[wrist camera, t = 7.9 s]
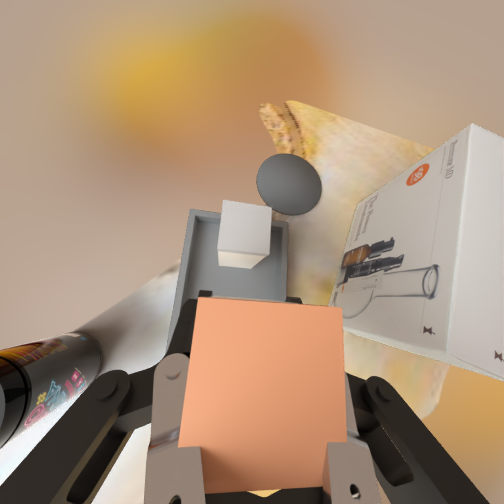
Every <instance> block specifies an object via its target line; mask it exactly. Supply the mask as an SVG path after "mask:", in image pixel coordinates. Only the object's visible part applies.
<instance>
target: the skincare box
mask: <svg viewBox="0 0 504 504" xmlns="http://www.w3.org/2000/svg"><path fill="white" fill-rule="evenodd" d="M328 306H332V307H341V308H342V317H343V330H344V331H346V332H348V333H350V334H353V335H357V336H360V337H363V338H366V339H369V340H373V341H376V342H379V343H382V344H385V345H388V346H391V347H394V348H398V349H401V350H404V351H407V352H411V353H414V354H418V355H421V356H424V357H428V358H431V359H434V360H437V361H441V362H444V363H447V364H450V365H454V366H457V367H460V368H464V369H467V370H470V371H473V372H476V373H480V374H483V375H486V376H489V377H492V378H494V379H498V380H501V381H504V138H503V137H501V136H499V135H496V134H495V133H492V132H490V131H488V130H486V129H484V128H482V127H480V126H477V125H475V124H474V123H472V124H470V125H469V126H468V127H466V128H465V129H464V130H462V131H461V132H459V133H458V134H456V135H455V136H454V137H452V138H451V139H449V140H448V141H447V142H445V143H444V144H442V145H441V146H439V147H438V148H437V149H435V150H434V151H432V152H431V153H429V154H428V155H427V156H425V157H424V158H422V159H421V160H419V161H418V162H417V163H415V164H414V165H412V166H411V167H410V168H408V169H407V170H405V171H404V172H402V173H401V174H400V175H398V176H397V177H395V178H394V179H392V180H391V181H390V182H388V183H387V184H385V185H384V186H383V187H381V188H380V189H378V190H377V191H375V192H374V193H373V194H371V195H370V196H368V197H367V198H365V199H364V200H363V201H361V202H360V203H358V204H357V207H356V211H355V214H354V218H353V221H352V225H351V228H350V231H349V235H348V238H347V242H346V245H345V249H344V252H343V255H342V259H341V262H340V265H339V269H338V272H337V276H336V279H335V283H334V286H333V290H332V293H331V297H330V300H329V303H328Z"/></svg>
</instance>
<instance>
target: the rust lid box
mask: <svg viewBox="0 0 504 504" xmlns="http://www.w3.org/2000/svg"><path fill="white" fill-rule="evenodd" d="M327 442H344V443H347V426H346V399H345V371H344V344H343V317H342V308H341V307H332V306H322V305H309V304H298V303H290V302H283V301H275V300H267V299H253V298H240V297H226V296H212V297H198V303H197V310H196V318H195V325H194V332H193V339H192V347H191V354H190V361H189V369H188V376H187V383H186V391H185V398H184V405H183V412H182V420H181V427H180V434H179V442H178V448H179V447H193V446H200V453H201V463H202V473H203V483H204V493H205V494H210V493H226V492H242V491H258V490H274V489H289V488H305V487H321V486H323V481H322V473H323V467H324V460H325V454H326V448H327Z"/></svg>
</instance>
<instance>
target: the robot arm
mask: <svg viewBox="0 0 504 504" xmlns="http://www.w3.org/2000/svg"><path fill="white" fill-rule="evenodd" d="M212 295H213V291H210V290H200V291H199V294H198V297H212ZM285 302H290V303H298V304H303V303H302V301H301V299H300V298H297V297H287V298H286V300H285ZM197 303H198V298H197V299H190V298H189V299H188V300H187V301H186V302H185V303H184V304H183V306H182V309H181V312H180V316H179V318H178V321H177V324H176V327H175V330H174V333H173V336H172V338H171V341H170V344H169V347H168V350H167V353H166V354H165V356H164V357H163V359H162V360H161V361H160V362H159V363H157V364H156V365H154V366H153V367H151V368H148V369H146V370H142V371H139V372H136V373H132V374H129V375H128V374H127V373H126V372H125V371H123V370H112V371H109V372H106V373H104V374H102V375H101V376H99V377H98V378H97V379H95V380H94V381H93V382H92V383H91V384H90V385H89V386H88V388H87V389H86V390H85V391H84V392H83V393H82V394H81V395H80V397H79V398H78V399H77V400H76V401H75V402H74V403H73V405H72V406H71V407H70V408H69V409H68V410H67V411H66V412H65V414H64V415H63V416H62V417H61V418H60V419H59V420H58V421H57V423H56V424H55V425H54V426H53V427H52V428H51V429H50V431H49V432H48V433H47V434H46V435H45V436H44V437H43V438H42V440H41V441H40V442H39V443H38V444H37V445H36V446H35V447H34V449H33V450H32V451H31V452H30V453H29V454H28V455H27V457H26V458H25V459H24V460H23V461H22V462H21V463H20V464H19V466H18V467H17V468H16V469H15V470H14V471H13V472H12V473H11V475H10V476H9V477H8V478H7V479H6V480H5V481H4V483H3V484H2V485H1V486H0V504H91V503H92V501H93V499H94V498H95V496H96V494H97V493H98V491H99V489H100V488H101V486H102V484H103V482H104V481H105V479H106V477H107V476H108V474H109V472H110V471H111V469H112V467H113V465H114V464H115V462H116V460H117V459H118V457H119V455H120V454H121V452H122V450H123V448H124V447H125V445H126V443H127V442H128V440H129V438H130V437H131V435H132V433H133V431H134V430H135V429H137V428H139V427H142V426H144V425H147V424H149V423H151V438H150V444H149V447H148V452H147V461H146V476H145V492H144V504H381V499H380V494H379V489H378V485H377V480H378V481H379V483H380V485H381V487H382V488H383V490H384V492H385V494H386V495H387V497H388V499H389V501H390V503H391V504H490V503H489V502H488V501H487V500H486V499H485V497H484V496H483V495H482V494H481V493H480V491H479V490H478V489H477V488H476V487H475V485H474V484H473V483H472V482H471V481H470V479H469V478H468V477H467V476H466V474H465V473H464V472H463V471H462V470H461V468H460V467H459V466H458V465H457V464H456V462H455V461H454V460H453V459H452V458H451V457H450V455H449V454H448V453H447V452H446V451H445V449H444V448H443V447H442V446H441V444H440V443H439V442H438V441H437V439H436V438H435V437H434V436H433V435H432V433H431V432H430V431H429V430H428V429H427V427H426V426H425V425H424V424H423V423H422V421H421V420H420V419H419V418H418V417H417V415H416V414H415V413H414V412H413V411H412V409H411V408H410V407H409V406H408V404H407V403H406V402H405V401H404V400H403V398H402V397H401V396H400V395H399V394H398V392H397V391H396V390H395V389H394V388H393V387H392V386H391V385H390V384H389V383H388V382H387V381H385V380H384V379H382V378H380V377H377V376H371V377H369V378H368V379H367V380H364V379H361V378H359V377H356V376H353V375H351V374H348V373H346V372H345V399H346V426H347V443H344V442H327V448H326V454H325V460H324V467H323V473H322V481H323V486H321V487H305V488H289V489H281V490H279V491H277V492H275V493H273V494H271V495H270V496H268V497H260V496H258V495H255V494H252V493H250V492H247V491H242V492H226V493H210V494H205V493H204V483H203V473H202V463H201V453H200V446H193V447H179V448H178V442H179V434H180V427H181V420H182V412H183V405H184V398H185V391H186V383H187V376H188V369H189V361H190V354H191V347H192V339H193V332H194V325H195V318H196V310H197ZM383 428H384V429H383ZM385 431H386V432H385ZM387 434H388V435H387ZM389 437H390V438H389ZM391 440H392V441H391ZM393 443H394V444H393ZM396 447H397V448H396ZM398 450H399V451H398ZM400 453H401V454H400ZM402 456H403V457H402ZM404 459H405V460H404ZM376 478H377V480H376Z"/></svg>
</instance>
